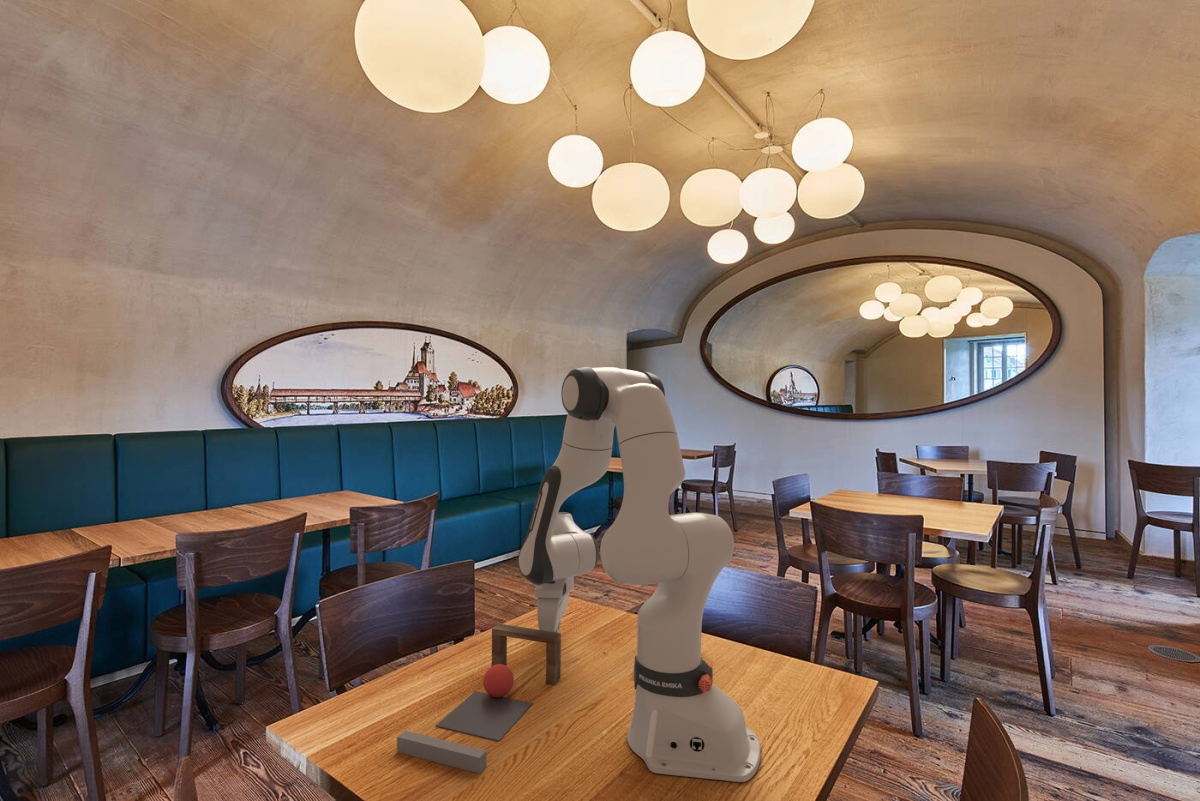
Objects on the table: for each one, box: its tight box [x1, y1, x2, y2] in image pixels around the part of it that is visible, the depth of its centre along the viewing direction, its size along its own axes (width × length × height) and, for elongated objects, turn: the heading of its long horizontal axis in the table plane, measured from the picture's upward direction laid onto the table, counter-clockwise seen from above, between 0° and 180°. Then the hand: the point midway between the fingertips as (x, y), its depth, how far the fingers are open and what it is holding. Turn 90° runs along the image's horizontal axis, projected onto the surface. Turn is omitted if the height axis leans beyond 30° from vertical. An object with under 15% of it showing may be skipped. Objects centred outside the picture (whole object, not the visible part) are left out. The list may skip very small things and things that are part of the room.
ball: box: [482, 664, 515, 698], centre depth 112 cm, size 6×6×6 cm
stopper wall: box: [396, 730, 487, 774], centre depth 92 cm, size 16×2×2 cm, turn 70°
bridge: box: [491, 623, 562, 686], centre depth 120 cm, size 3×15×10 cm, turn 70°
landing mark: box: [435, 690, 534, 742], centre depth 105 cm, size 13×13×1 cm
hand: (554, 637), depth 134 cm, fingers closed
